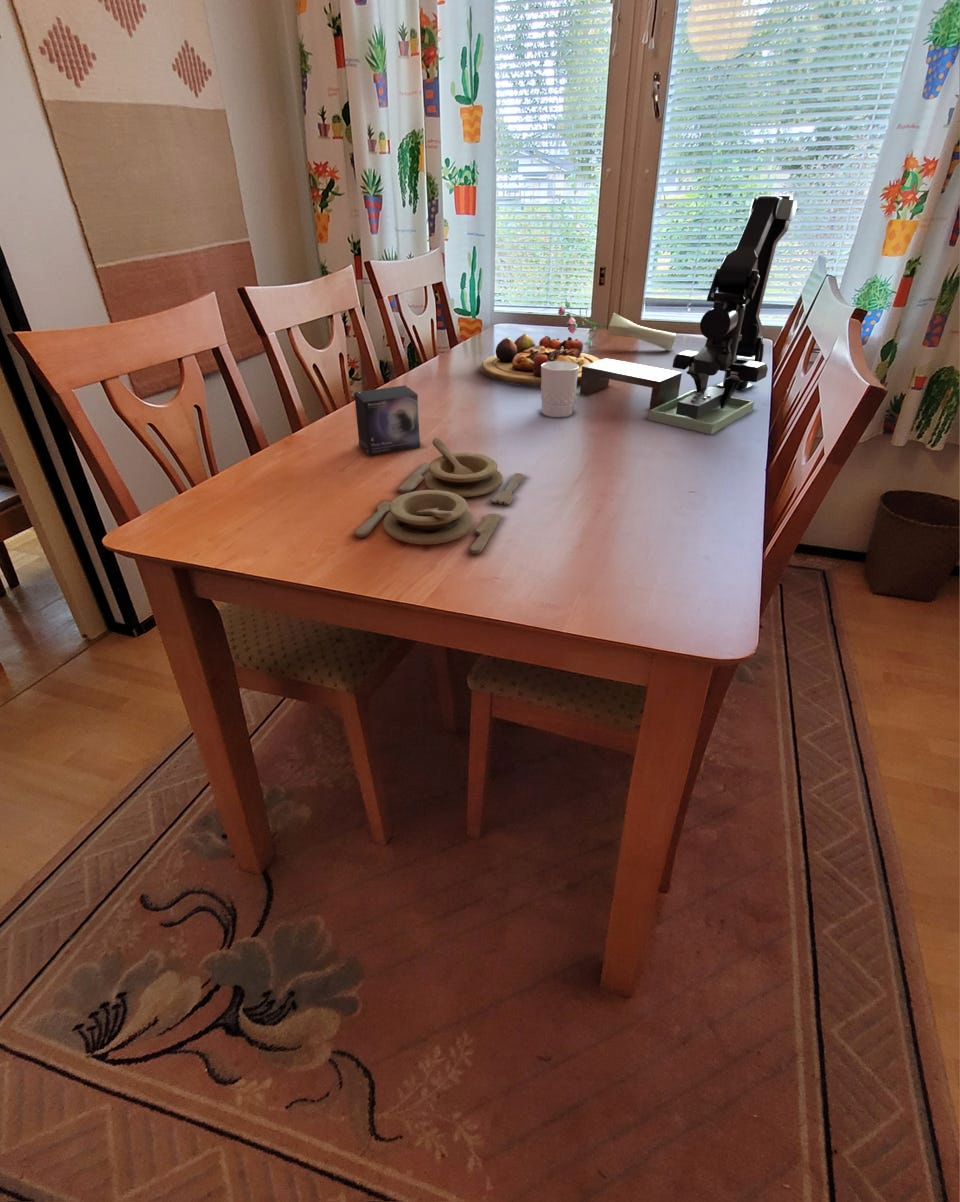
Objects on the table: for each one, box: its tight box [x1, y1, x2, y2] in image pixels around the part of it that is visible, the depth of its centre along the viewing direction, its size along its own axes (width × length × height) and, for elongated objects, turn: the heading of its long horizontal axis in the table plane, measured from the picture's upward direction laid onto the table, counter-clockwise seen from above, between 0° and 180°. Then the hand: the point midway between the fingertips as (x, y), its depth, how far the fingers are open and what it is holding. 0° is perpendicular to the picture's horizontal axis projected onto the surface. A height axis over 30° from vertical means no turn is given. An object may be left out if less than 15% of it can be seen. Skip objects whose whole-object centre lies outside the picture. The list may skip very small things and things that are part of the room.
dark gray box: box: [676, 385, 725, 419], centre depth 138 cm, size 15×5×3 cm, turn 138°
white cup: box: [540, 361, 579, 418], centre depth 139 cm, size 8×8×10 cm
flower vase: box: [557, 299, 677, 352], centre depth 191 cm, size 12×12×35 cm
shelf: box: [579, 357, 683, 412], centre depth 149 cm, size 10×20×6 cm, turn 48°
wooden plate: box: [481, 333, 601, 387], centre depth 168 cm, size 32×32×8 cm
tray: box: [648, 389, 755, 435], centre depth 139 cm, size 20×14×2 cm
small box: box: [353, 385, 421, 457], centre depth 122 cm, size 11×6×10 cm, turn 117°
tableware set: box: [354, 437, 525, 555], centre depth 102 cm, size 30×20×6 cm, turn 164°
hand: (711, 406), depth 142 cm, fingers closed on dark gray box, 5 cm apart
